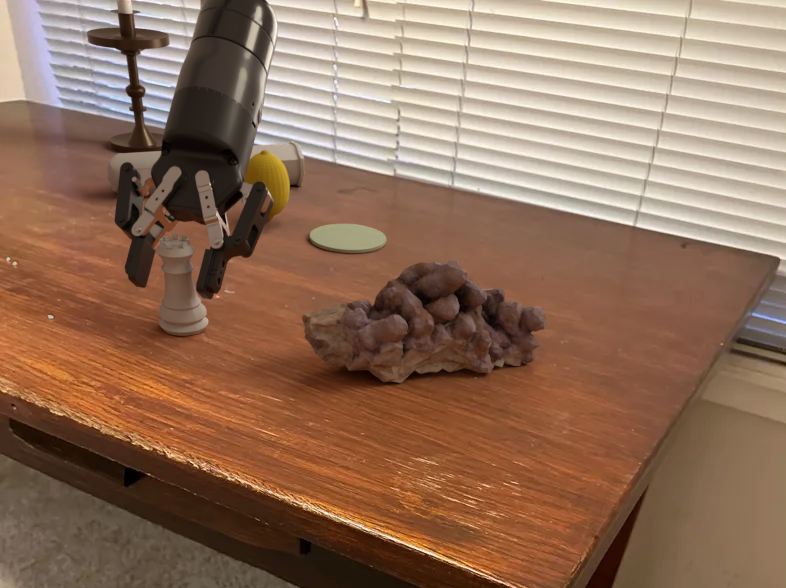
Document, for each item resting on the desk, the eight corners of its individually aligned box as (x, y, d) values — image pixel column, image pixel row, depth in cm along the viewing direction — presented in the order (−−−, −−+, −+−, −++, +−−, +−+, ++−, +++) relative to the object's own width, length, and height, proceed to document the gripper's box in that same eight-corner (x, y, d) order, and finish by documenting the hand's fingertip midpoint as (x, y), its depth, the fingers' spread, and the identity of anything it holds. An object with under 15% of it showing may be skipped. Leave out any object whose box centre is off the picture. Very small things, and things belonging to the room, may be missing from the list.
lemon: (277, 211, 102) (275, 142, 97) (298, 224, 99) (297, 154, 94) (236, 216, 99) (232, 145, 94) (256, 230, 96) (253, 158, 91)
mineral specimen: (496, 268, 76) (535, 214, 67) (535, 366, 76) (581, 327, 66) (291, 329, 71) (302, 280, 62) (332, 435, 71) (350, 402, 61)
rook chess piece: (218, 328, 75) (211, 241, 70) (177, 342, 72) (166, 252, 67) (191, 312, 77) (182, 227, 72) (149, 324, 75) (137, 236, 70)
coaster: (306, 250, 92) (306, 247, 92) (312, 224, 99) (312, 221, 99) (386, 255, 92) (386, 252, 92) (386, 229, 99) (386, 225, 99)
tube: (110, 169, 98) (306, 156, 107) (100, 143, 100) (293, 133, 109) (114, 208, 102) (302, 193, 111) (104, 183, 104) (290, 169, 114)
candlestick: (101, 155, 116) (50, -169, 94) (107, 136, 124) (60, -166, 102) (180, 156, 118) (147, -160, 96) (180, 137, 126) (150, -158, 104)
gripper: (122, 73, 70) (72, 257, 68) (281, 93, 68) (232, 283, 66) (159, 127, 77) (115, 295, 75) (303, 147, 75) (260, 320, 73)
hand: (170, 288), depth 71 cm, fingers open, 5 cm apart
